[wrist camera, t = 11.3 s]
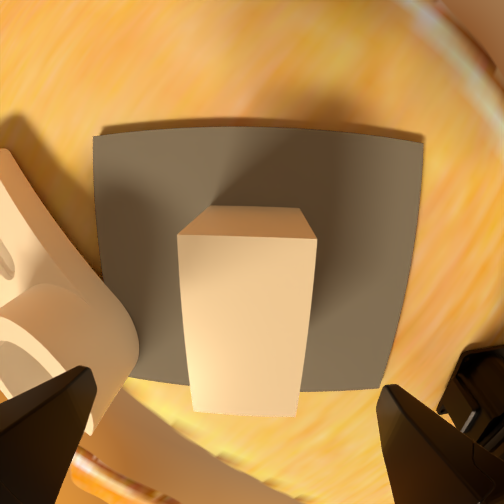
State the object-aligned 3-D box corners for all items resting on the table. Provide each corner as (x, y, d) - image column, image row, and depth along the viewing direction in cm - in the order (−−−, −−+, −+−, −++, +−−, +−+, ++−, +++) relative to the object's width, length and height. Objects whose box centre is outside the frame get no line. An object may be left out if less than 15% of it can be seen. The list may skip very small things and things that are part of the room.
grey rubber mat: (418, 143, 15) (423, 143, 14) (376, 382, 19) (378, 388, 19) (98, 136, 15) (92, 136, 15) (126, 371, 20) (123, 376, 20)
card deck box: (289, 343, 18) (295, 416, 12) (213, 340, 18) (193, 411, 12) (299, 207, 15) (317, 239, 10) (209, 205, 16) (176, 234, 10)
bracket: (164, 347, 18) (122, 422, 12) (99, 393, 21) (60, 450, 14) (-4, 127, 15) (-74, 132, 8) (-39, 208, 17) (-95, 228, 11)
